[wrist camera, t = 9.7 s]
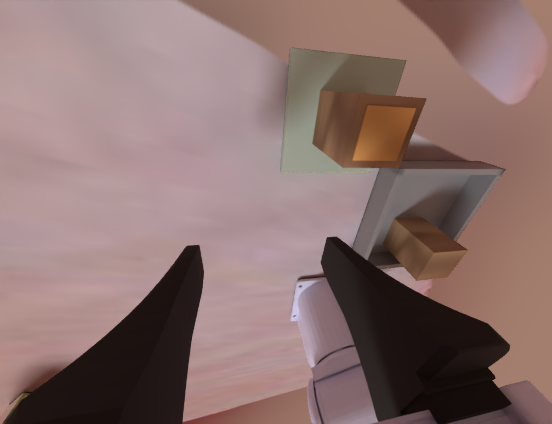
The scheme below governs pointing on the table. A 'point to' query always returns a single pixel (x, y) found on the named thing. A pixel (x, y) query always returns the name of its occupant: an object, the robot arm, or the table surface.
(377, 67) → the mat
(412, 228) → the plain block
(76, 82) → the table surface
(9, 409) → the syrup box
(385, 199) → the bin
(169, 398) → the robot arm
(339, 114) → the label block
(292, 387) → the table surface
